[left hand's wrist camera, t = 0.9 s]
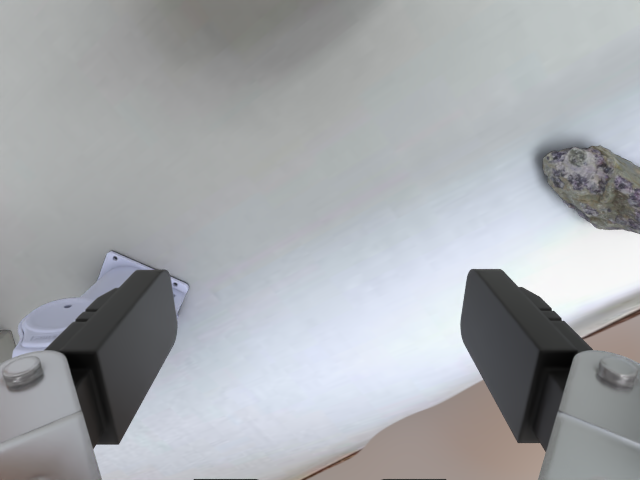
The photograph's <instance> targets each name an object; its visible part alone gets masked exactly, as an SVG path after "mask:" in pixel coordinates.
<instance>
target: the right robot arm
mask: <svg viewBox="0 0 640 480" xmlns="http://www.w3.org/2000/svg"><path fill="white" fill-rule="evenodd" d="M114 256H116V257H117V258H118V259H115V257H114ZM136 270H154V269H152V268H150V267H148V266H145V265H143V264H141V263H138V262H136V261H134V260H132V259H129V258H127V257H125V256H122V255H120V254H118V253H116V252H113V251H110V252H108V253H107V255H106V257H105V260H104V263H103V266H102V269H101V271H100V274H99V277H98V280H97V282H96V283H95V284H94V285H92V286H91V287H90V288H89V289H88V290H87V291H86V292H85V293H83V294H82V295H81V296H80V297H79V298H65V299H60V300H56V301H52V302H49V303H46V304H44V305H41V306H39V307H38V308H36V309H34V310H33V311H31V312H30V313H29V314H28V315H27V316H25V317H24V318H23V319H22V320H21V322H20V323H19V325H18V333H19V336H20V340H19V342H18V344H17V346H16V347H15V348H14V350H13V353H12V358H14V357H16V356H19V355H22V354H26V353H30V352H35V351H42V350H45V349H46V348H47V347H48V346H49V345H50V344H51V343H52V342H53V341H54V340H55V339H56V338H57V337H58V336H59V335H60V334H61V333H62V332H63V331H64V330H65V329H66V328H67V327H68V326H69V325H70V324H71V323H72V322H75V319H76V318H77V317H78V316H79V315H80V314H81V313H82V312H85V309H86V308H87V307H88V306H89V305H90V304H91V303H92V302H93V301H94V300H96V299H97V298H98V297H100V296H101V295H103V294H105V293H107V292H109V291H110V290H112V289H114V288H119V287H120V286H121V285H122V284H123V283H124V282H125V281H126V280H127V279H128V278H129V277H130V276H131V275H132V274H133V273H134V272H135V271H136ZM171 283H172V290H173V297H174V303H175V310H176V317H177V319H178V315H177V313H178V311H179V309H180V307H181V304H182V302H183V300H184V298H185V295H186V293H187V291H188V289H189V286H188V284H186V283H184V282H182V281H180V280H177V279H175V278H173V277H171ZM174 283H177V284H178V285H175V284H174Z"/></svg>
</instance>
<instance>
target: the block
mask: <svg viewBox="0 0 640 480" xmlns="http://www.w3.org/2000/svg"><path fill="white" fill-rule="evenodd" d="M15 347H16V346H15V343H14V340H13V337H12V334H11V331H0V364H1V363H3V362H5V361H7V360H9V359H11V358H12V353H13V350H14V348H15Z"/></svg>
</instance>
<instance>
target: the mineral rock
mask: <svg viewBox="0 0 640 480" xmlns="http://www.w3.org/2000/svg"><path fill="white" fill-rule="evenodd" d="M543 170H544V174H545V175H547V176H548V181H547V182H548V184H549V185H550V186H551V187H552V189H553V190H554V191H555V192H556V193H557V194H558V195H559V196H560V197H561V198H562V199H563V202H564V203H567V205H568V207H570V208H574V209H576V210H578V214H579V216H580V217H582V218H584V219H586V220H587V221H588V222H590V223H592V224H593V226H594V227H596V228H598V229H605V230H617V229H624V230H627V231H632V232H635V233H638V234H640V168H639V167H637V166H636V165H634V164H633V163H632V162H630V161H628V160H626V159H624V158H621V157H620V156H618V155H615V154H614V153H612V152H611V151H610V150H608V149H606V148H604V147H602V146H591V147H589V148H583V149H580V148H577V147H573V148H568V149H564V150H561V151H552V152H550V153H549V154H547V155H546V156H545V157H544V158H543Z"/></svg>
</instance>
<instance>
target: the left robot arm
mask: <svg viewBox="0 0 640 480" xmlns="http://www.w3.org/2000/svg"><path fill="white" fill-rule="evenodd" d="M176 335H177V317H176V310H175V303H174V297H173V290H172V283H171V277H170V274H169V272H168V271H167V270H136V271H135V272H134V273H133V274H132V275H131V276H130V277H129V278H128V279H127V280H126V281H125V282H124V283H123V284H122V285H121V286H120V287H119V288H114V289H112V290H110V291H109V292H107V293H105V294H103V295H101V296H100V297H98V298H97V299H96V300H94V301H93V302H92V303H91V304H90V305H89V306H88V307H87V308H86V309H85V312H82V313H81V314H80V315H79V316H78V317H77V318H76V319H75V322H72V323H71V324H70V325H69V326H68V327H67V328H66V329H65V330H64V331H63V332H62V333H61V334H60V335H59V336H58V337H57V338H56V339H55V340H54V341H53V342H52V343H51V344H50V345H49V346H48V347H47V348H46V349H45V350H42V351H35V352H30V353H26V354H22V355H19V356H16V357H14V358H11V359H9V360H7V361H5V362H3V363H1V364H0V480H102V478H101V475H100V471H99V468H98V464H97V461H96V457H95V454H94V451H93V449H94V447H95V446H96V444H119V443H120V441H121V440H122V438H123V436H124V434H125V432H126V430H127V429H128V427H129V425H130V423H131V421H132V420H133V418H134V416H135V414H136V412H137V410H138V409H139V407H140V405H141V403H142V401H143V400H144V398H145V396H146V394H147V392H148V390H149V389H150V387H151V385H152V383H153V381H154V379H155V378H156V376H157V374H158V372H159V370H160V369H161V367H162V365H163V363H164V361H165V359H166V358H167V356H168V354H169V352H170V350H171V349H172V347H173V345H174V343H175V340H176ZM461 335H462V339H463V342H464V345H465V346H466V348H467V350H468V352H469V354H470V356H471V357H472V359H473V361H474V363H475V365H476V367H477V368H478V370H479V372H480V374H481V376H482V378H483V380H484V381H485V383H486V385H487V387H488V389H489V391H490V392H491V394H492V396H493V398H494V400H495V402H496V403H497V405H498V407H499V409H500V411H501V412H502V415H503V416H504V418H505V420H506V422H507V424H508V426H509V427H510V429H511V431H512V433H513V435H514V437H515V438H516V440H517V442H518V443H541V445H542V447H543V448H544V450H545V452H546V454H545V458H544V461H543V464H542V468H541V471H540V475H539V478H538V480H640V364H639V363H637V362H635V361H633V360H631V359H629V358H626V357H624V356H621V355H618V354H614V353H610V352H605V351H598V350H593V349H592V348H591V347H590V346H589V345H588V344H587V343H586V342H585V341H584V340H583V339H582V338H581V337H580V336H579V335H578V334H577V333H576V332H575V331H574V330H573V329H572V328H571V327H570V326H569V325H568V324H567V323H566V322H565V321H562V320H561V317H560V316H559V315H558V314H557V313H556V312H555V311H552V308H551V307H550V306H549V305H548V304H546V303H545V302H544V301H543V300H542V299H541V298H540V297H539V296H537V295H535V294H534V293H532V292H530V291H528V290H526V289H525V288H523V287H518V286H517V285H516V284H515V283H514V282H513V281H512V280H511V279H510V278H509V277H508V276H507V275H506V274H505V272H504V271H502V270H501V269H471V270H470V271H469V273H468V276H467V281H466V288H465V294H464V301H463V308H462V315H461ZM194 480H257V479H194ZM383 480H446V479H383Z"/></svg>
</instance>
